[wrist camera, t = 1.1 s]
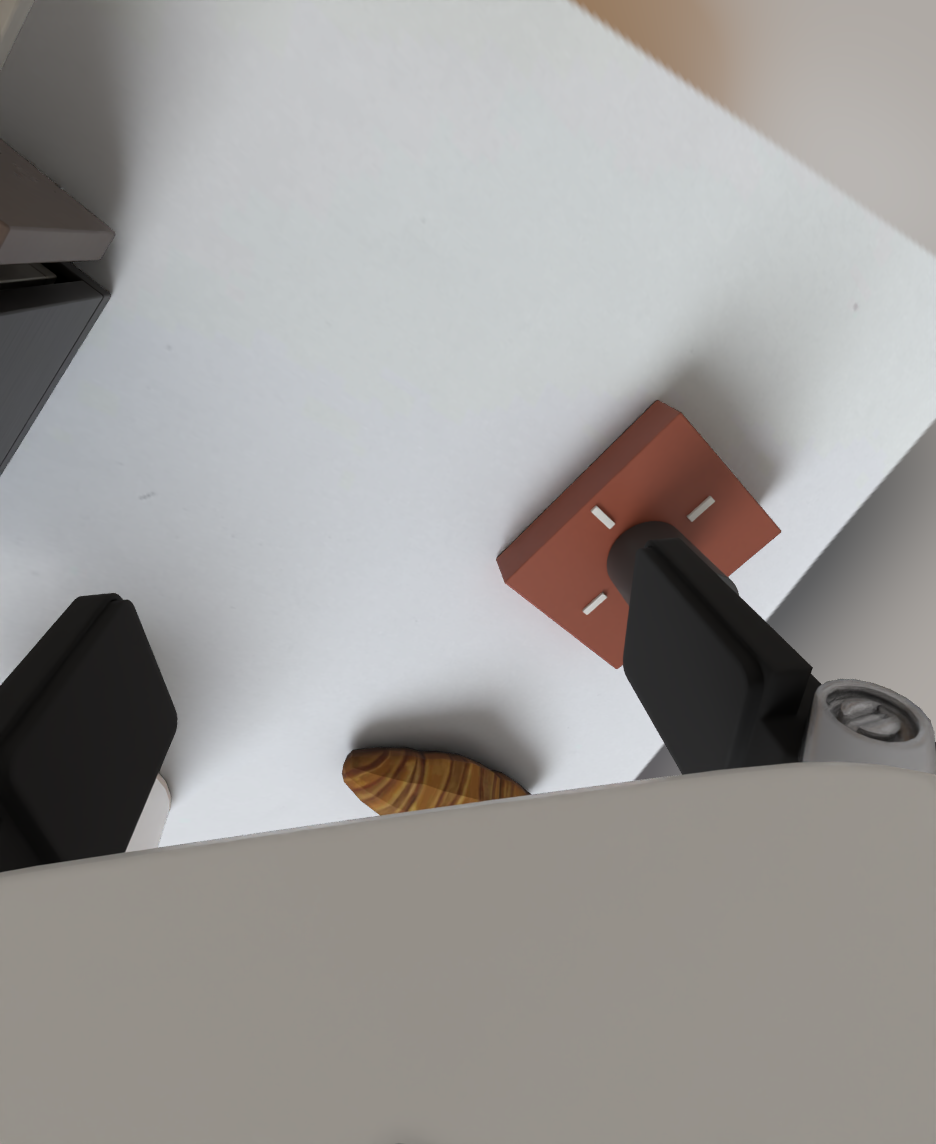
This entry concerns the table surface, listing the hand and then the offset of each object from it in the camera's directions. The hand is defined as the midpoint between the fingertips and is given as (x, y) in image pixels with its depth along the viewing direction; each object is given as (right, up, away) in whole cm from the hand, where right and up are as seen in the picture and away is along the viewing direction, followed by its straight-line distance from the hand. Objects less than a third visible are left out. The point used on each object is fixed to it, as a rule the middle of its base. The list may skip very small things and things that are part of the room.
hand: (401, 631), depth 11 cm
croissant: (0, -12, +27) cm, 29 cm away
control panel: (+10, +3, +19) cm, 22 cm away
